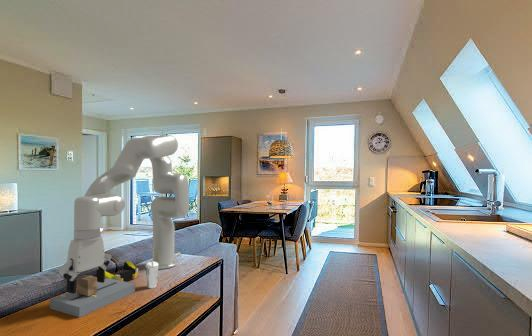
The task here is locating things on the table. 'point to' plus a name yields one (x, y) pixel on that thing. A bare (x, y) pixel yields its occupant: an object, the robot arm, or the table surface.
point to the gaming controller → (124, 273)
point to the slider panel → (92, 298)
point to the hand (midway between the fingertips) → (86, 287)
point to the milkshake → (151, 274)
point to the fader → (86, 285)
